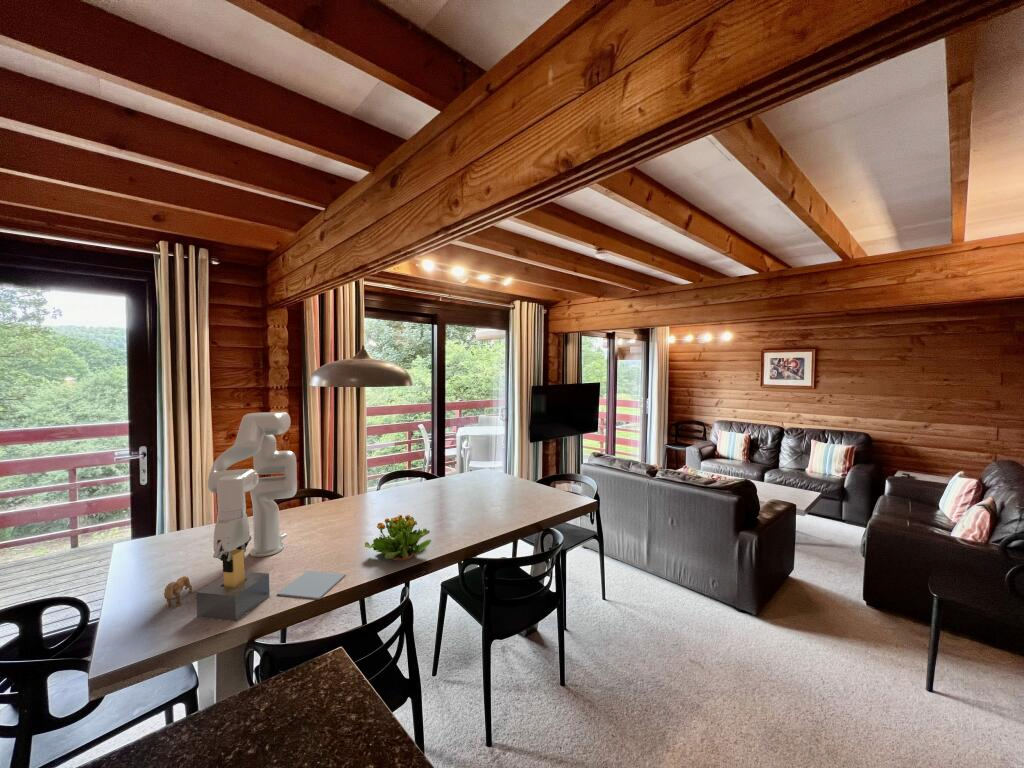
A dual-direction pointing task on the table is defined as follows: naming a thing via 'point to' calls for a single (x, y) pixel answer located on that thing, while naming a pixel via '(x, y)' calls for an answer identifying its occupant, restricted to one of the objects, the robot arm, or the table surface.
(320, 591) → the mat
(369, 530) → the table surface
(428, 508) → the table surface
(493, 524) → the table surface
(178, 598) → the brown animal figure
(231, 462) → the robot arm
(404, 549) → the potted flower
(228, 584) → the peg
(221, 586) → the hole block
